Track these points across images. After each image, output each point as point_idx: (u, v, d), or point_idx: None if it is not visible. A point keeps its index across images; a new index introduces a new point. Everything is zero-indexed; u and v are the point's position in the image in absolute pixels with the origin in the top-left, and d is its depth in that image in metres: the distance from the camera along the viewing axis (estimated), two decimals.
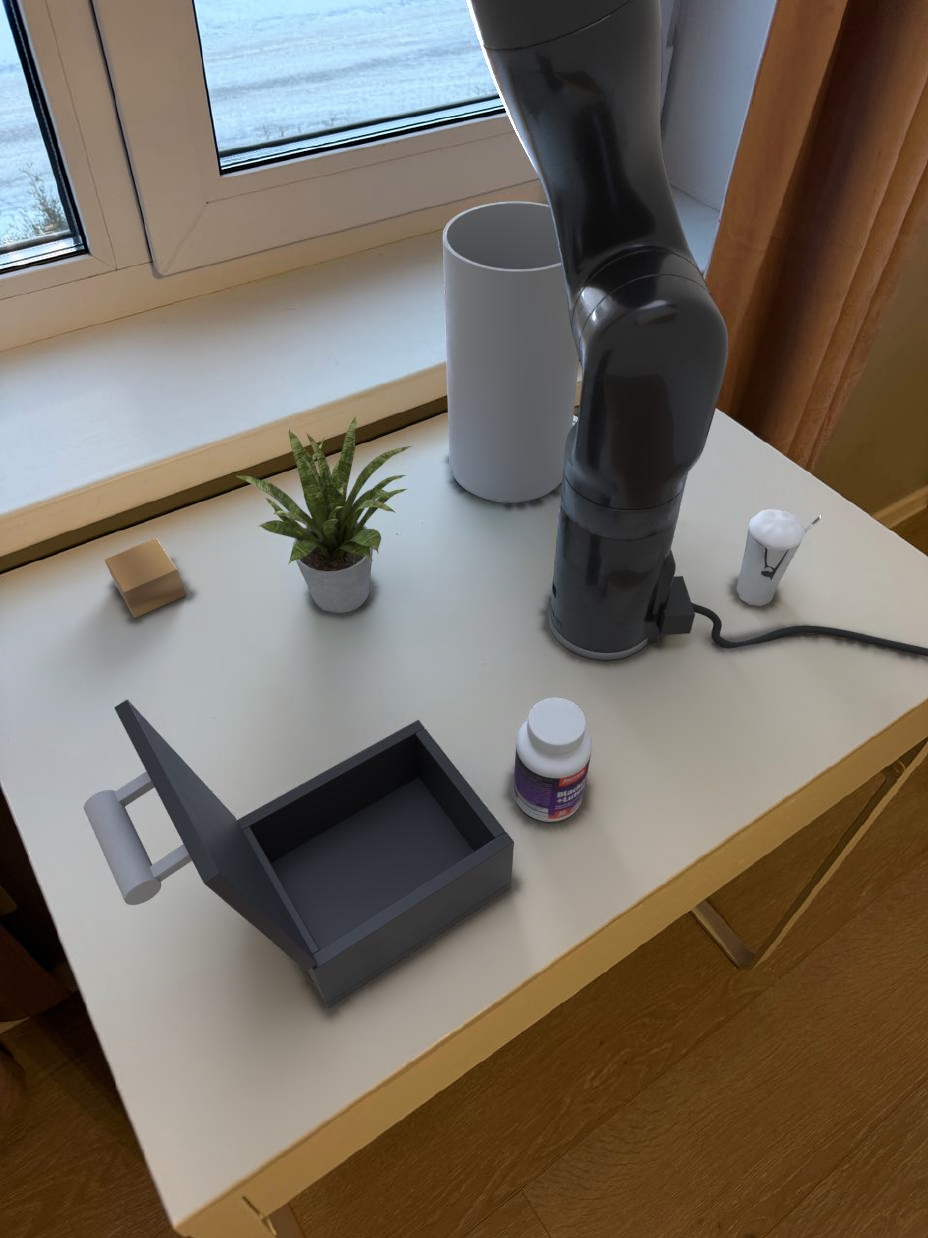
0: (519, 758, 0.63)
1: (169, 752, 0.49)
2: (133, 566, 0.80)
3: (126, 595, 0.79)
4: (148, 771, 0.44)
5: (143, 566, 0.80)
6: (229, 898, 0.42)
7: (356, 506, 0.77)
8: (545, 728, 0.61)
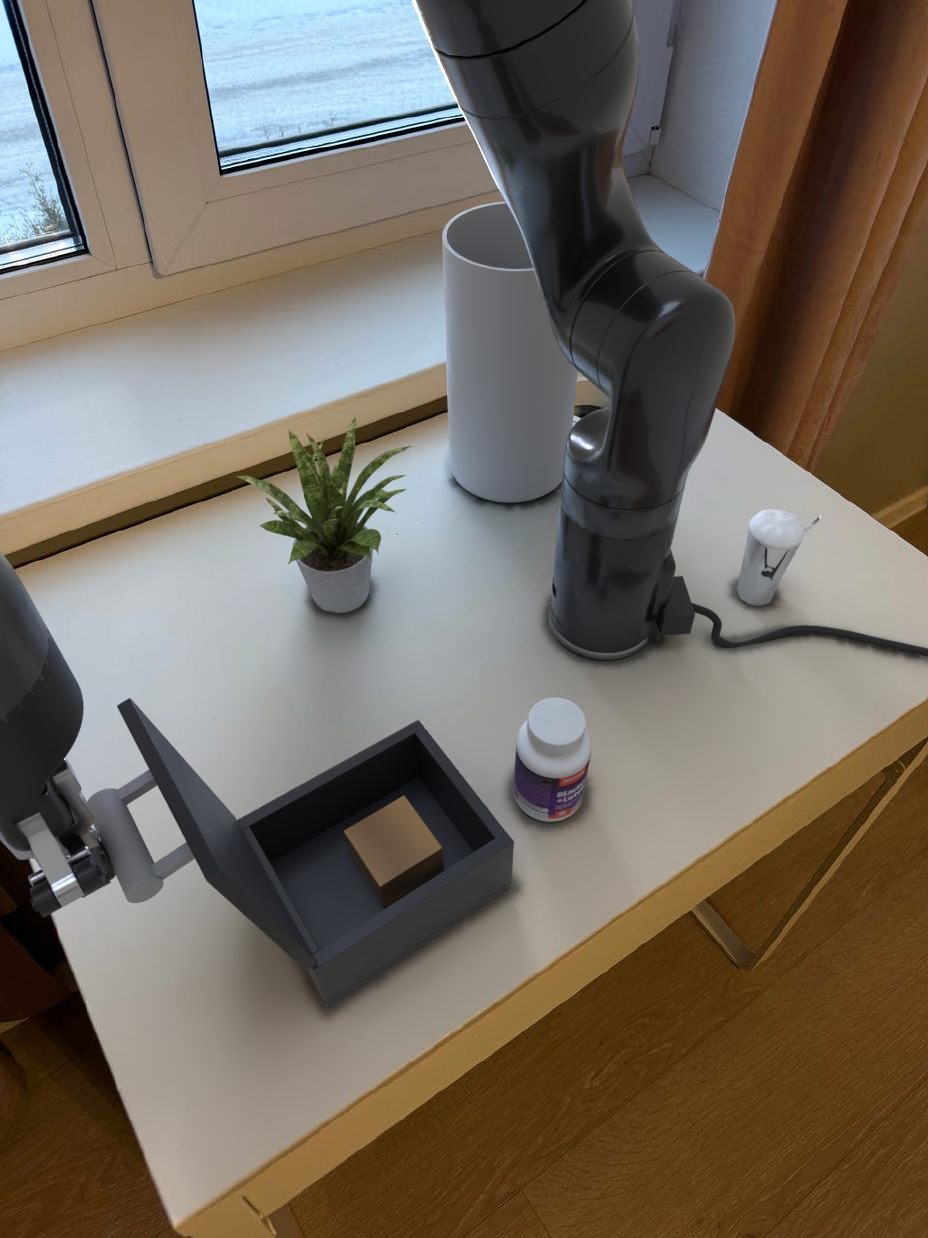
0: (519, 758, 0.63)
1: (171, 751, 0.49)
2: (384, 843, 0.61)
3: (382, 888, 0.60)
4: (151, 769, 0.44)
5: (397, 843, 0.61)
6: (231, 896, 0.42)
7: (356, 506, 0.77)
8: (545, 728, 0.61)
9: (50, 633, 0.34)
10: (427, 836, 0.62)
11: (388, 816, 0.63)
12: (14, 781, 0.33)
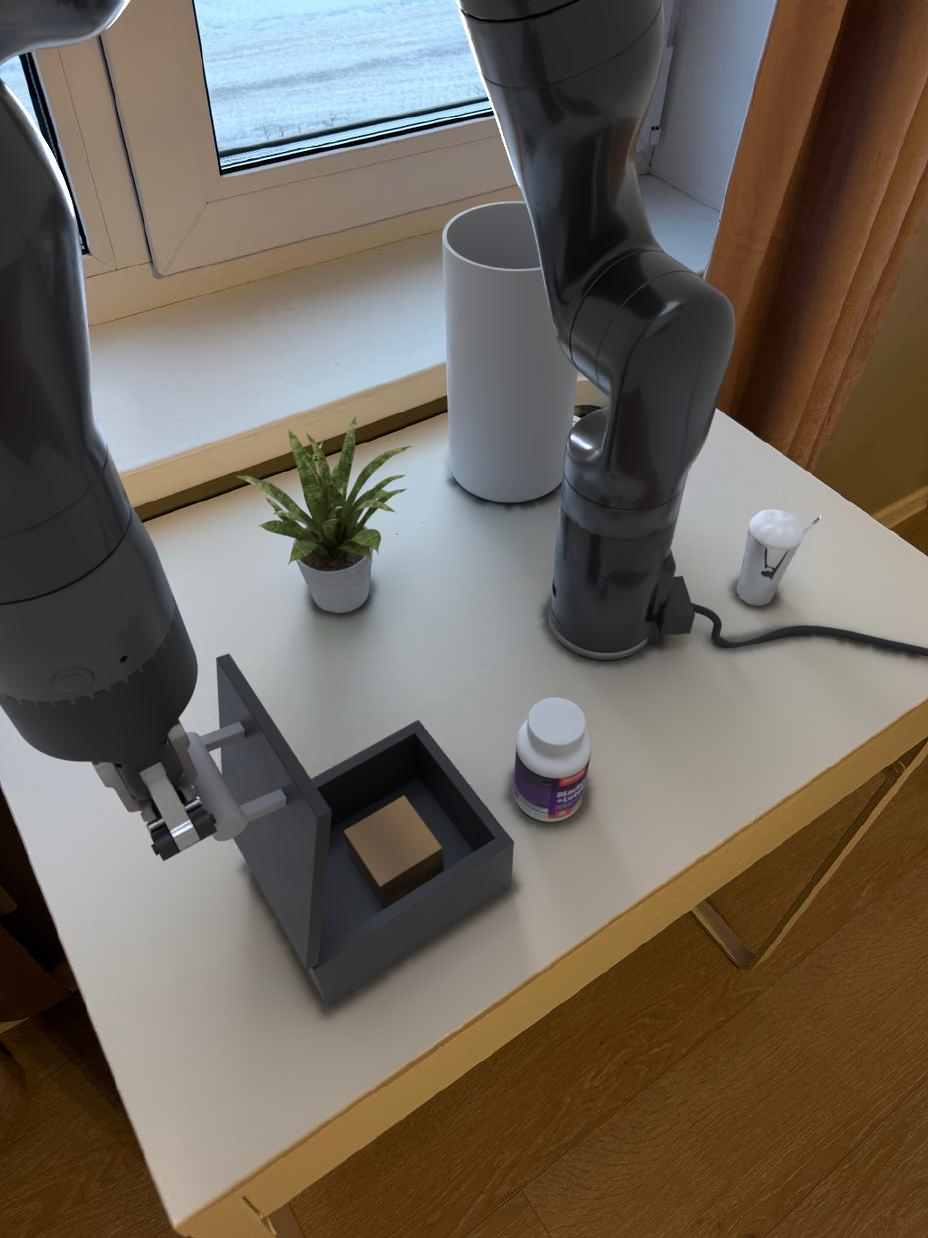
0: (519, 758, 0.63)
1: None
2: (384, 843, 0.61)
3: (382, 888, 0.60)
4: (255, 716, 0.46)
5: (397, 843, 0.61)
6: (320, 845, 0.44)
7: (356, 506, 0.77)
8: (545, 728, 0.61)
9: None
10: (427, 836, 0.62)
11: (388, 816, 0.63)
12: (142, 729, 0.35)
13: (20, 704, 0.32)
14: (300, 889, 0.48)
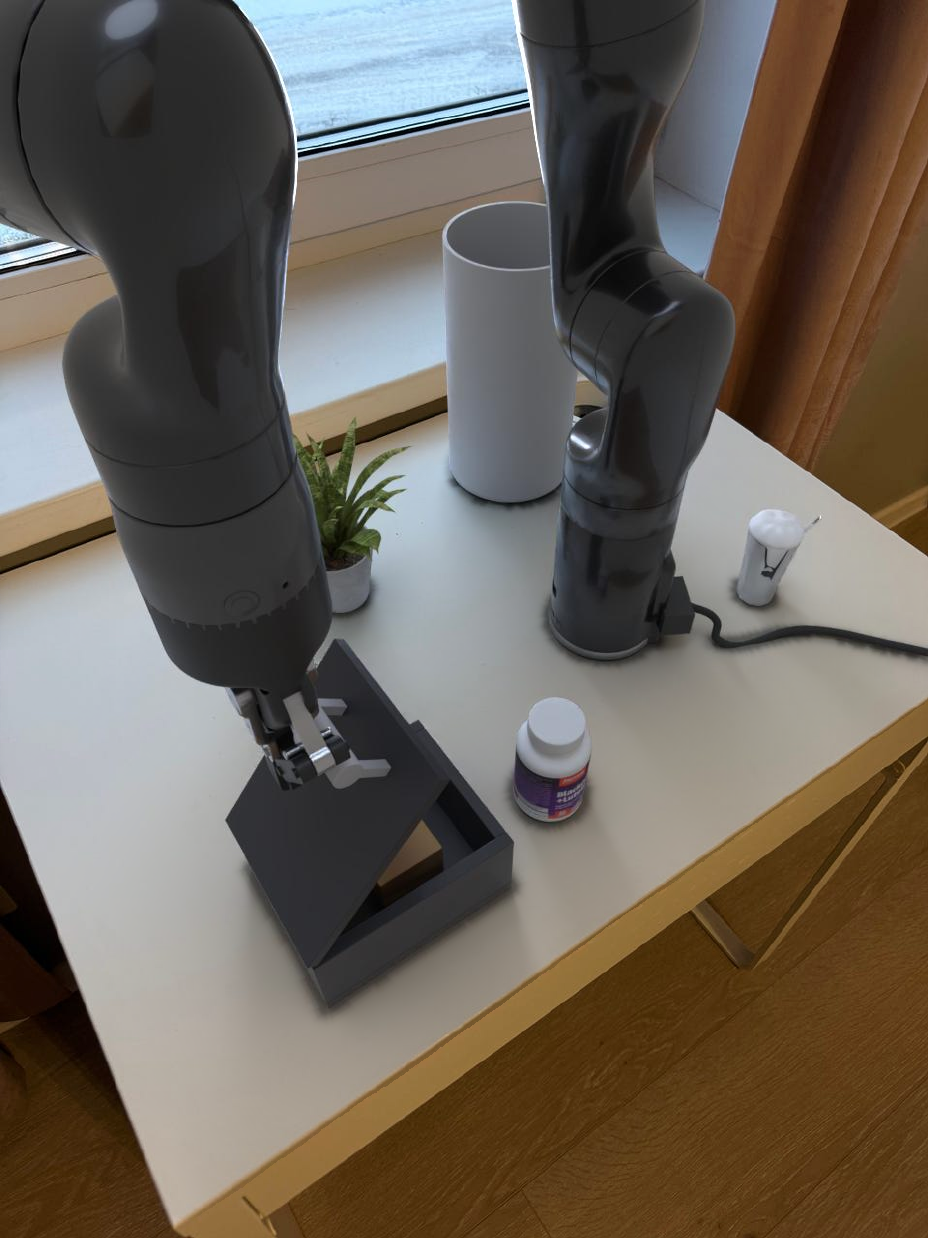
0: (519, 758, 0.63)
1: None
2: None
3: (382, 888, 0.60)
4: (375, 690, 0.51)
5: None
6: (421, 812, 0.48)
7: (356, 506, 0.77)
8: (545, 728, 0.61)
9: None
10: (427, 836, 0.62)
11: None
12: (291, 657, 0.37)
13: (188, 628, 0.35)
14: (356, 868, 0.51)
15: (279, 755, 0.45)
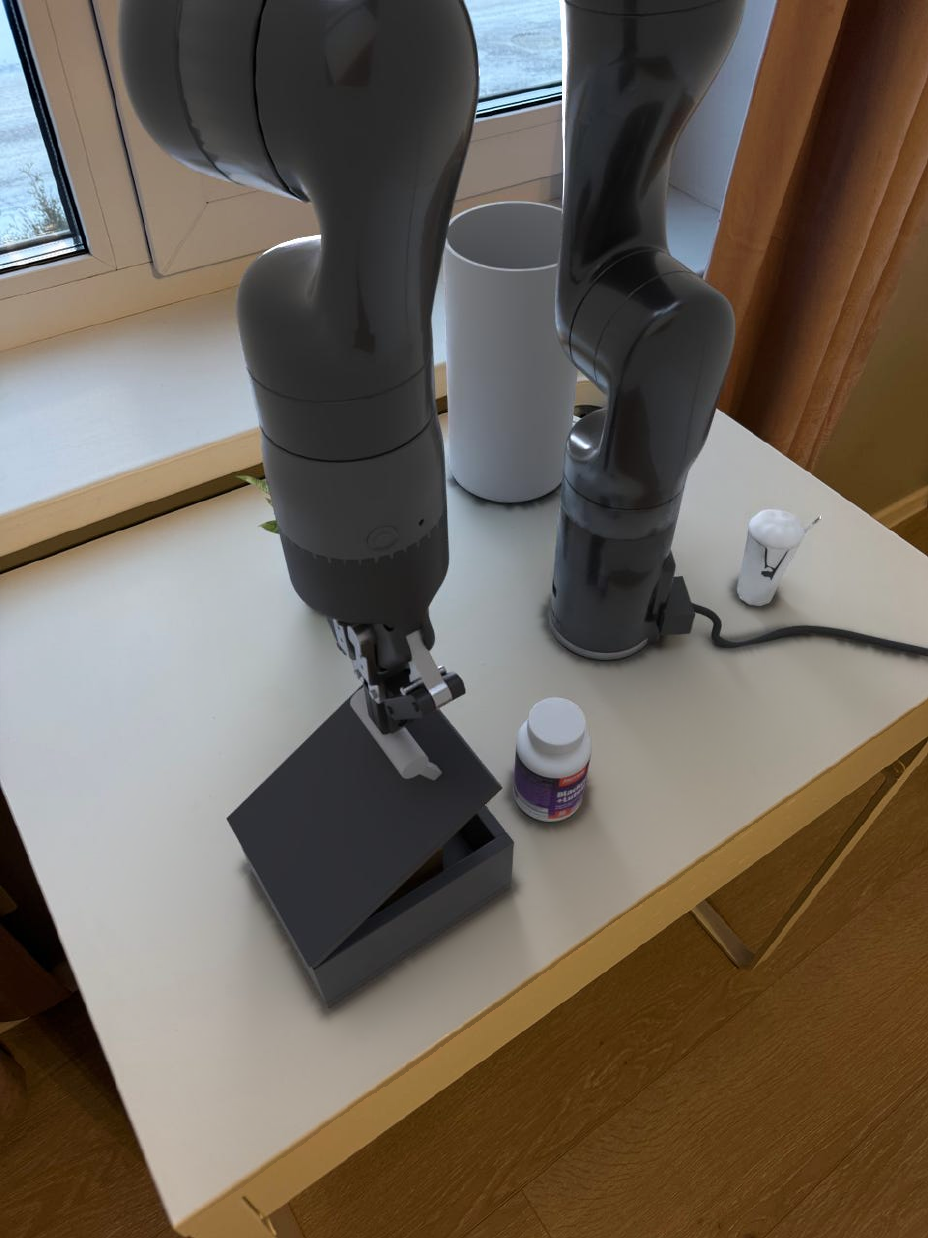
0: (519, 758, 0.63)
1: None
2: None
3: None
4: None
5: None
6: (468, 816, 0.52)
7: None
8: (545, 728, 0.61)
9: None
10: None
11: None
12: (417, 594, 0.39)
13: (329, 563, 0.37)
14: (386, 866, 0.53)
15: (385, 697, 0.47)
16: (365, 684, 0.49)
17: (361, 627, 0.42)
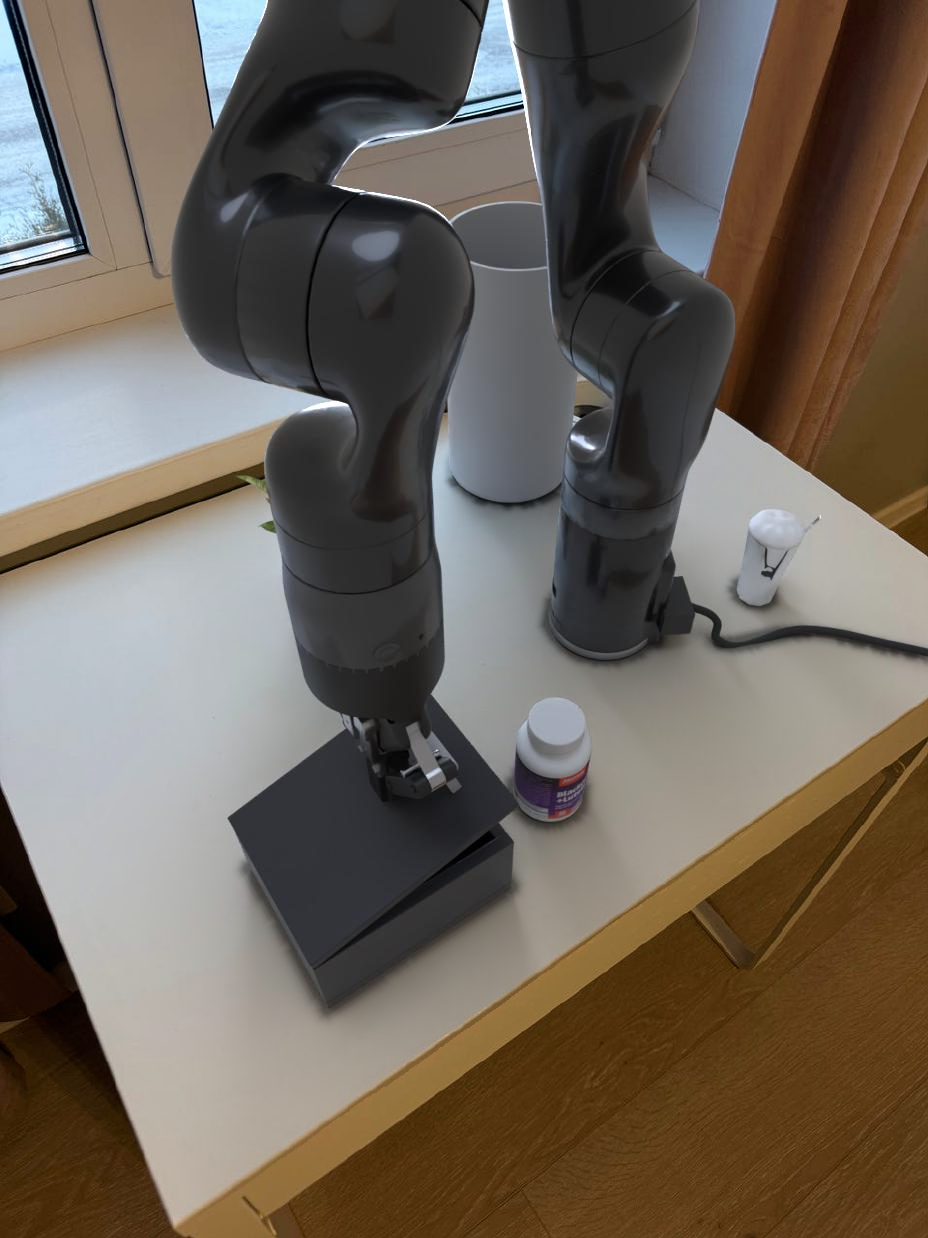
0: (519, 758, 0.63)
1: None
2: None
3: None
4: (454, 723, 0.59)
5: None
6: (486, 828, 0.55)
7: None
8: (545, 728, 0.61)
9: None
10: None
11: None
12: (416, 693, 0.45)
13: (339, 671, 0.42)
14: (399, 871, 0.54)
15: (386, 772, 0.53)
16: (367, 758, 0.54)
17: None
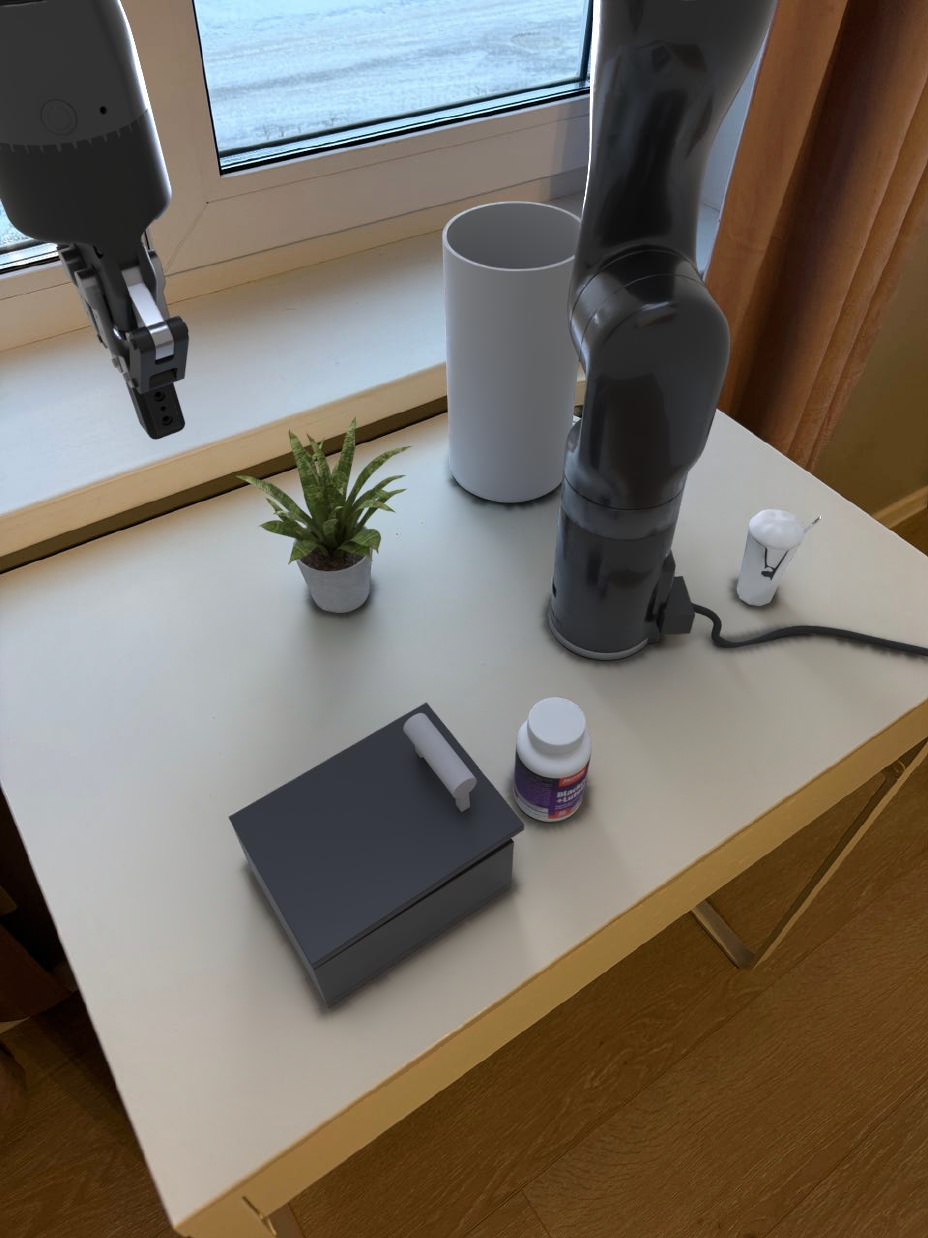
0: (519, 758, 0.63)
1: None
2: None
3: None
4: (463, 748, 0.62)
5: None
6: (492, 847, 0.57)
7: (356, 506, 0.77)
8: (545, 728, 0.61)
9: None
10: None
11: None
12: (121, 210, 0.40)
13: (13, 152, 0.37)
14: (406, 880, 0.56)
15: None
16: None
17: (85, 271, 0.43)
